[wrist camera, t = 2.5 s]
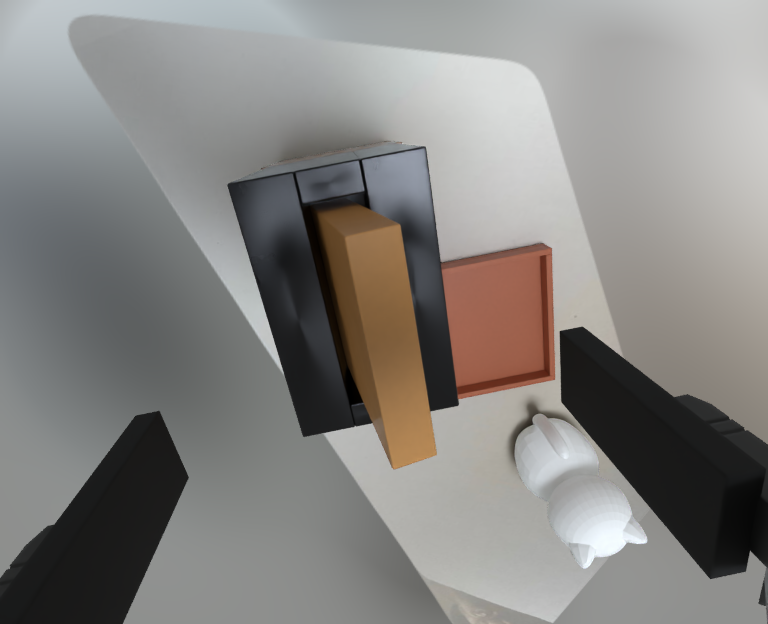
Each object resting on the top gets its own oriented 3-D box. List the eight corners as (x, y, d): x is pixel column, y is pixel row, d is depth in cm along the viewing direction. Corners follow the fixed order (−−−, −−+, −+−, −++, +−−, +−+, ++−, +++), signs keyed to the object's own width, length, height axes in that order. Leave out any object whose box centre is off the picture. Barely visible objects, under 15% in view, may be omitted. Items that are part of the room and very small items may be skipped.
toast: (309, 204, 23) (343, 236, 14) (345, 197, 24) (400, 223, 15) (347, 365, 27) (393, 470, 18) (377, 356, 28) (437, 455, 19)
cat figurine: (524, 486, 57) (583, 598, 43) (489, 416, 52) (543, 516, 38) (588, 457, 56) (669, 562, 42) (559, 383, 51) (640, 474, 38)
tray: (416, 267, 45) (420, 273, 43) (542, 243, 45) (551, 248, 43) (435, 393, 50) (439, 403, 48) (547, 370, 51) (555, 379, 49)
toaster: (279, 161, 40) (215, 185, 19) (387, 140, 40) (437, 143, 19) (319, 318, 46) (302, 464, 25) (412, 300, 46) (471, 430, 25)
